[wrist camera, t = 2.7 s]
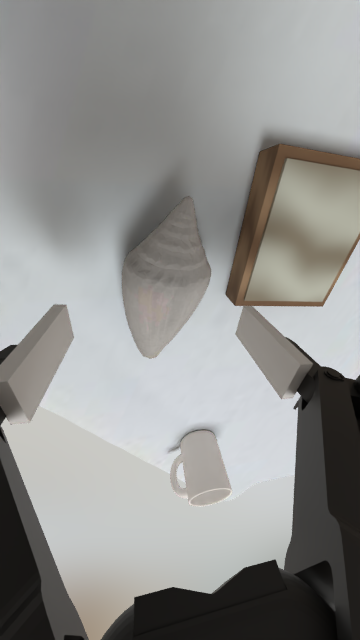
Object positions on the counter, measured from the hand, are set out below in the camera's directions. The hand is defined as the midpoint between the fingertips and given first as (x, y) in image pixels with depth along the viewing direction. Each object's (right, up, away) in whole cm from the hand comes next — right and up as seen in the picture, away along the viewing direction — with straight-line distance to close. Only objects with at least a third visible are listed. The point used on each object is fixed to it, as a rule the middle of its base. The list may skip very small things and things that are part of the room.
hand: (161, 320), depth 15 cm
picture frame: (+14, +9, +7) cm, 18 cm away
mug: (+4, -28, +29) cm, 41 cm away
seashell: (-1, +4, +8) cm, 9 cm away
